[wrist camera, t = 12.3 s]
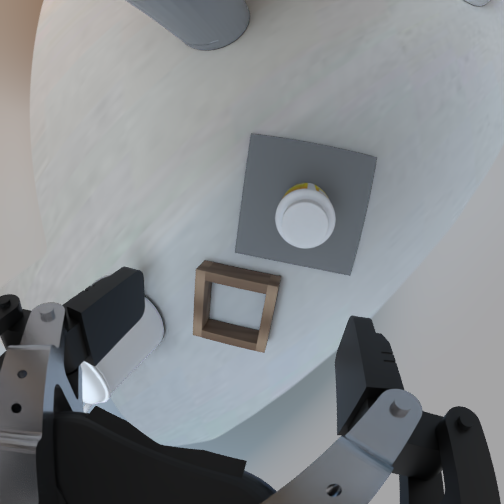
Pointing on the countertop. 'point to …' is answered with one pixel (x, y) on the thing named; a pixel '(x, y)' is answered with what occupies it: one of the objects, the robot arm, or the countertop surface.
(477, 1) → the pill bottle
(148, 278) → the countertop surface
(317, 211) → the supplement bottle
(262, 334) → the collar holder
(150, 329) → the coffeepot
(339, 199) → the rubber mat
